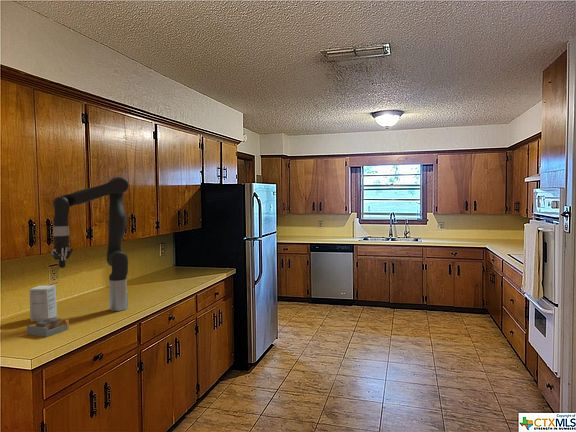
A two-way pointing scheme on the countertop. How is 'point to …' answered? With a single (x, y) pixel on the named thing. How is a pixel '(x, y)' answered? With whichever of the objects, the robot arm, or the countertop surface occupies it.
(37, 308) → the supplement box
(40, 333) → the bay
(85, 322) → the countertop surface
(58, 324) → the grey block
